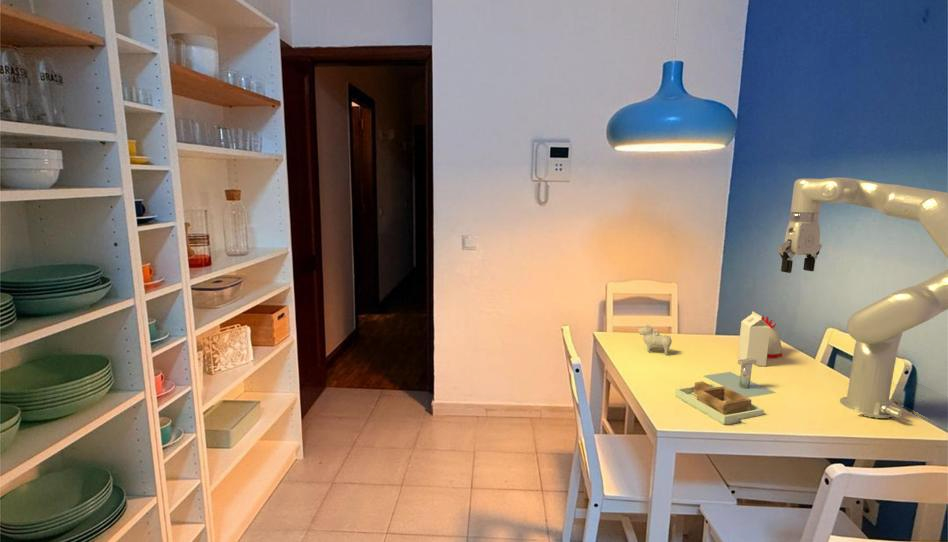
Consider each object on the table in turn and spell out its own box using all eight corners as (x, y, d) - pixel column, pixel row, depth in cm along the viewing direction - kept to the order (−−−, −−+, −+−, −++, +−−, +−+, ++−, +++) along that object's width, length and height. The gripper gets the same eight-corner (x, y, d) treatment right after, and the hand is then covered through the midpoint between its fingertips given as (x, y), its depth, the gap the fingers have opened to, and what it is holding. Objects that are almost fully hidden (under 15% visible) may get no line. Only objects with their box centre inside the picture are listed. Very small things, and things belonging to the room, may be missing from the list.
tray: (762, 417, 138) (763, 409, 138) (723, 425, 134) (724, 416, 133) (711, 390, 156) (711, 383, 156) (675, 396, 152) (675, 389, 151)
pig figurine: (638, 347, 198) (639, 322, 196) (671, 352, 192) (673, 326, 190) (635, 350, 193) (637, 325, 191) (669, 356, 187) (671, 330, 185)
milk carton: (756, 359, 184) (762, 311, 181) (765, 366, 177) (771, 316, 174) (737, 359, 185) (742, 311, 181) (745, 365, 178) (751, 316, 175)
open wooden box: (750, 412, 140) (751, 399, 139) (722, 417, 137) (724, 404, 136) (710, 391, 154) (711, 379, 153) (684, 395, 151) (685, 383, 150)
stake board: (775, 395, 153) (776, 392, 153) (746, 400, 149) (746, 397, 149) (729, 374, 170) (730, 371, 169) (702, 378, 166) (702, 375, 166)
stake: (755, 387, 156) (758, 360, 155) (740, 389, 155) (743, 362, 153) (747, 383, 159) (750, 357, 158) (733, 386, 157) (736, 359, 156)
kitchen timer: (748, 344, 202) (752, 309, 200) (786, 352, 192) (790, 316, 190) (736, 351, 193) (740, 315, 191) (774, 361, 183) (779, 323, 181)
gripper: (794, 219, 146) (788, 274, 149) (835, 218, 152) (828, 272, 155) (772, 217, 153) (766, 270, 156) (812, 217, 159) (805, 268, 162)
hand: (797, 271), depth 156 cm, fingers open, 9 cm apart
